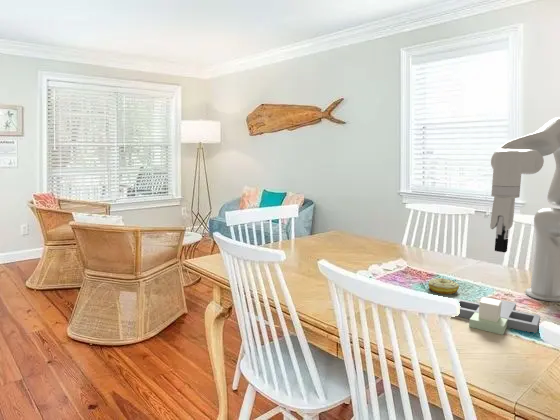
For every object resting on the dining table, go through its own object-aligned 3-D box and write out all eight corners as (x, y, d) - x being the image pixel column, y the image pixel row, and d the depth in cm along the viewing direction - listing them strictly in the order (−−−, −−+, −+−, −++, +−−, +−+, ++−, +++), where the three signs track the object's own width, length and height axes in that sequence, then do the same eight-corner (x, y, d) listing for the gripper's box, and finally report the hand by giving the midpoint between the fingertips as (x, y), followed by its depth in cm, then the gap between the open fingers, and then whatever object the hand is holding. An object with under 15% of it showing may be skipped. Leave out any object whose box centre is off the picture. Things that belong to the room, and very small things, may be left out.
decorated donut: (457, 288, 163) (458, 278, 162) (458, 297, 153) (459, 287, 152) (428, 284, 166) (429, 275, 166) (427, 293, 157) (428, 283, 156)
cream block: (482, 312, 132) (483, 296, 131) (500, 316, 129) (501, 300, 128) (478, 318, 128) (479, 302, 127) (497, 322, 125) (498, 305, 124)
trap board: (462, 299, 150) (462, 292, 150) (542, 315, 136) (543, 308, 136) (443, 320, 132) (443, 312, 131) (533, 341, 118) (534, 333, 117)
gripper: (496, 188, 137) (492, 245, 140) (486, 193, 126) (482, 254, 128) (523, 190, 133) (518, 248, 136) (515, 195, 121) (510, 258, 124)
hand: (500, 251), depth 132 cm, fingers closed
